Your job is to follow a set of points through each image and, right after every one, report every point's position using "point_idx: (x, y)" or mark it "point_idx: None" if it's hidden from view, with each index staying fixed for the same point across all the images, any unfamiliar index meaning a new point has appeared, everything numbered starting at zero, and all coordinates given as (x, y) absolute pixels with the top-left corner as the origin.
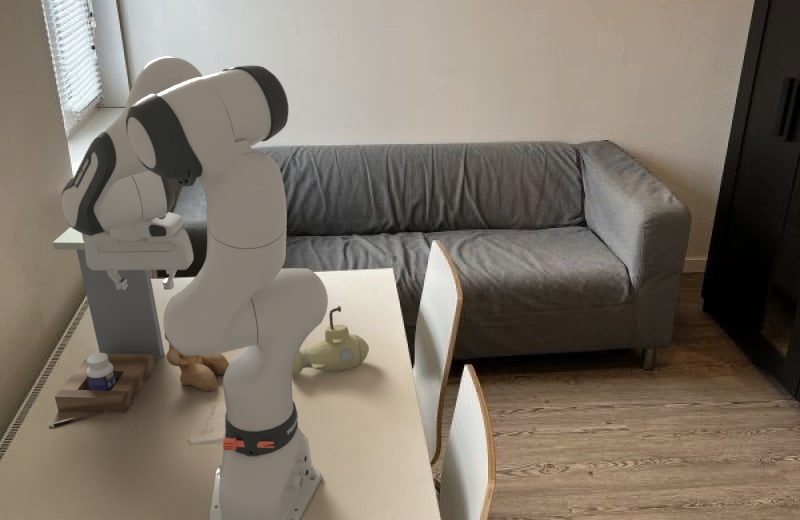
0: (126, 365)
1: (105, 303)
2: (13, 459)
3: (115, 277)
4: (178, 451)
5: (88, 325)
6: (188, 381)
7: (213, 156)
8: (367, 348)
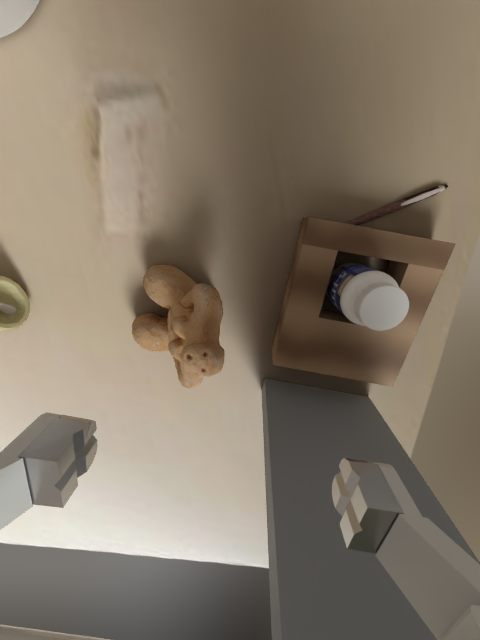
0: (317, 336)
1: None
2: None
3: (439, 568)
4: (177, 62)
5: None
6: (193, 281)
7: None
8: None
